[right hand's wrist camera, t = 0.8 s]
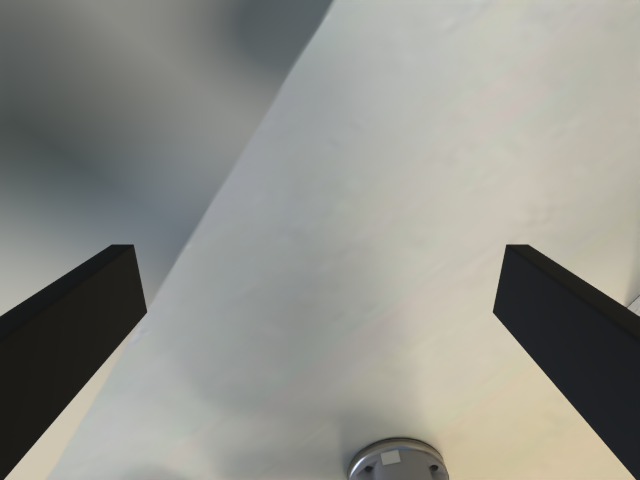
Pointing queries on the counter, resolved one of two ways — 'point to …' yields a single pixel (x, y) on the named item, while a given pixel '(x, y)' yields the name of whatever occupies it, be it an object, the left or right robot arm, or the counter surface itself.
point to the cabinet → (635, 306)
